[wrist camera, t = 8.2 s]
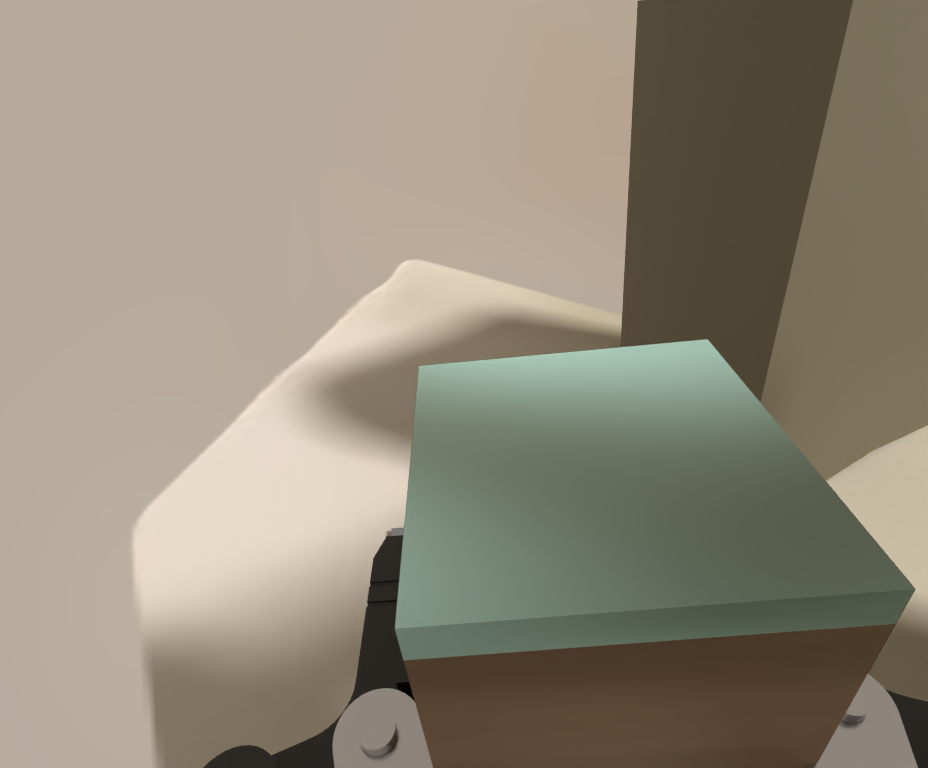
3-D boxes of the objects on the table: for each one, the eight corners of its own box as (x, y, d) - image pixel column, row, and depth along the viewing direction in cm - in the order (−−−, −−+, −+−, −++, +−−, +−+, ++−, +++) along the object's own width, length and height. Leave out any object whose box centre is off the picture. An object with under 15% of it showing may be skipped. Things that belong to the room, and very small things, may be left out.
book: (714, 564, 32) (847, -48, 16) (606, 472, 39) (624, -14, 23) (931, 423, 39) (1168, -93, 23) (806, 367, 46) (923, -56, 30)
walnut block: (476, 716, 15) (418, 365, 9) (645, 704, 14) (707, 339, 8) (485, 957, 11) (395, 629, 5) (714, 943, 11) (916, 588, 5)
